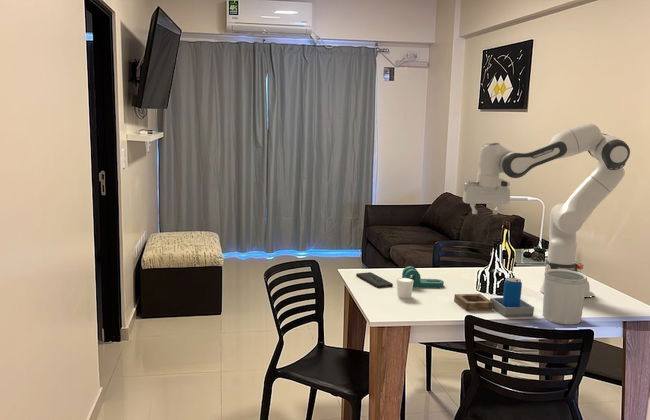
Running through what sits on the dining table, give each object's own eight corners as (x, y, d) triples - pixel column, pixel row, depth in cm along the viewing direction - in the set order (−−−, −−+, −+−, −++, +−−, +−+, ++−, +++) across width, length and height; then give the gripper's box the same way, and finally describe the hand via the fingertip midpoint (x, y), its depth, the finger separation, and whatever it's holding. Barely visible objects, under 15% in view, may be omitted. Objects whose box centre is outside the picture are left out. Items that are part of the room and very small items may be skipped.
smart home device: (377, 285, 248) (355, 273, 265) (377, 289, 248) (355, 276, 266) (393, 283, 251) (371, 271, 269) (393, 287, 251) (370, 275, 269)
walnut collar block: (479, 300, 236) (480, 293, 236) (492, 309, 225) (493, 302, 225) (454, 301, 234) (454, 294, 233) (465, 310, 223) (466, 303, 223)
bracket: (404, 287, 251) (405, 270, 250) (401, 283, 258) (402, 266, 257) (445, 288, 252) (446, 271, 251) (441, 284, 259) (442, 267, 258)
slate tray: (517, 305, 232) (517, 297, 231) (533, 315, 220) (534, 307, 220) (489, 306, 229) (490, 297, 229) (504, 316, 218) (505, 308, 217)
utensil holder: (551, 325, 211) (556, 279, 208) (533, 311, 225) (538, 268, 222) (589, 325, 212) (595, 279, 209) (569, 312, 227) (574, 269, 224)
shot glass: (415, 295, 239) (416, 279, 238) (408, 299, 234) (409, 283, 233) (400, 292, 243) (401, 276, 242) (393, 296, 237) (394, 279, 236)
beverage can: (520, 312, 221) (523, 282, 219) (502, 310, 222) (505, 281, 220) (518, 307, 227) (521, 278, 225) (501, 305, 228) (504, 276, 226)
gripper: (467, 182, 236) (465, 215, 238) (513, 182, 240) (510, 215, 243) (461, 180, 242) (458, 212, 245) (505, 181, 246) (503, 212, 249)
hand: (484, 214), depth 244 cm, fingers open, 8 cm apart
